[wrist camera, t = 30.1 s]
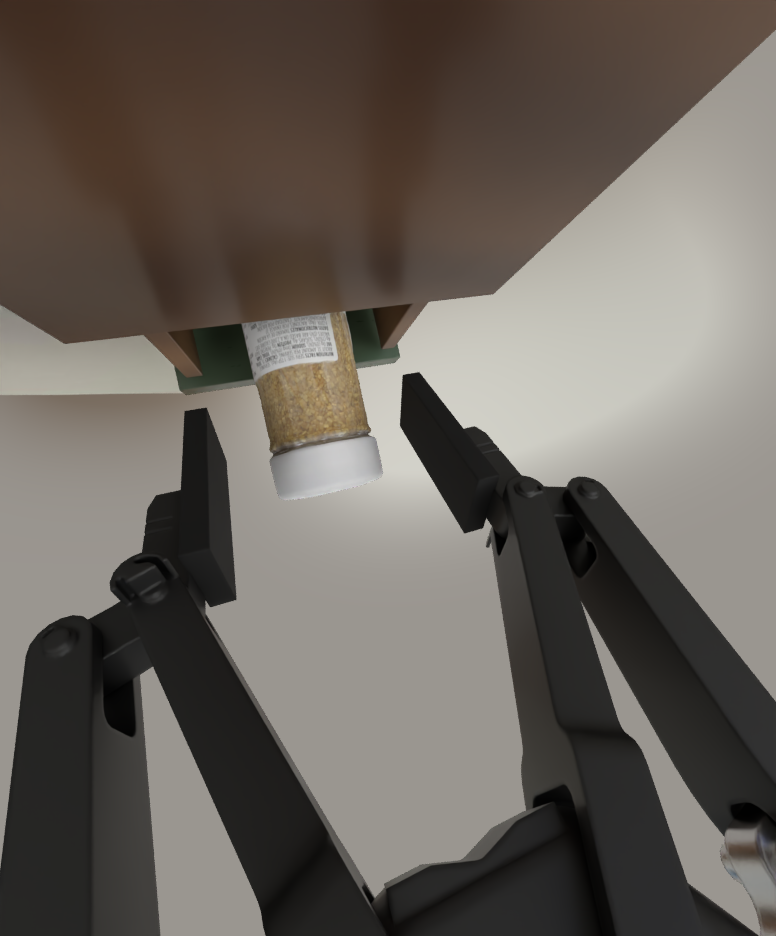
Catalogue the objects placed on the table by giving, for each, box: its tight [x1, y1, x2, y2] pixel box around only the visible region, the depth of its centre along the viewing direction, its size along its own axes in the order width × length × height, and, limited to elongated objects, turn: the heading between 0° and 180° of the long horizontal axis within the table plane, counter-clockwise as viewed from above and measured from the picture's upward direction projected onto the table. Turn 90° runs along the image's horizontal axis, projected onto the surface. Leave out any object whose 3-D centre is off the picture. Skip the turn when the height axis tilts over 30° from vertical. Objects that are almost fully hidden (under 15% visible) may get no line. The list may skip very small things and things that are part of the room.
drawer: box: [144, 302, 428, 395], centre depth 19 cm, size 20×12×8 cm, turn 167°
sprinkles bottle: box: [241, 311, 383, 500], centre depth 16 cm, size 5×5×14 cm
